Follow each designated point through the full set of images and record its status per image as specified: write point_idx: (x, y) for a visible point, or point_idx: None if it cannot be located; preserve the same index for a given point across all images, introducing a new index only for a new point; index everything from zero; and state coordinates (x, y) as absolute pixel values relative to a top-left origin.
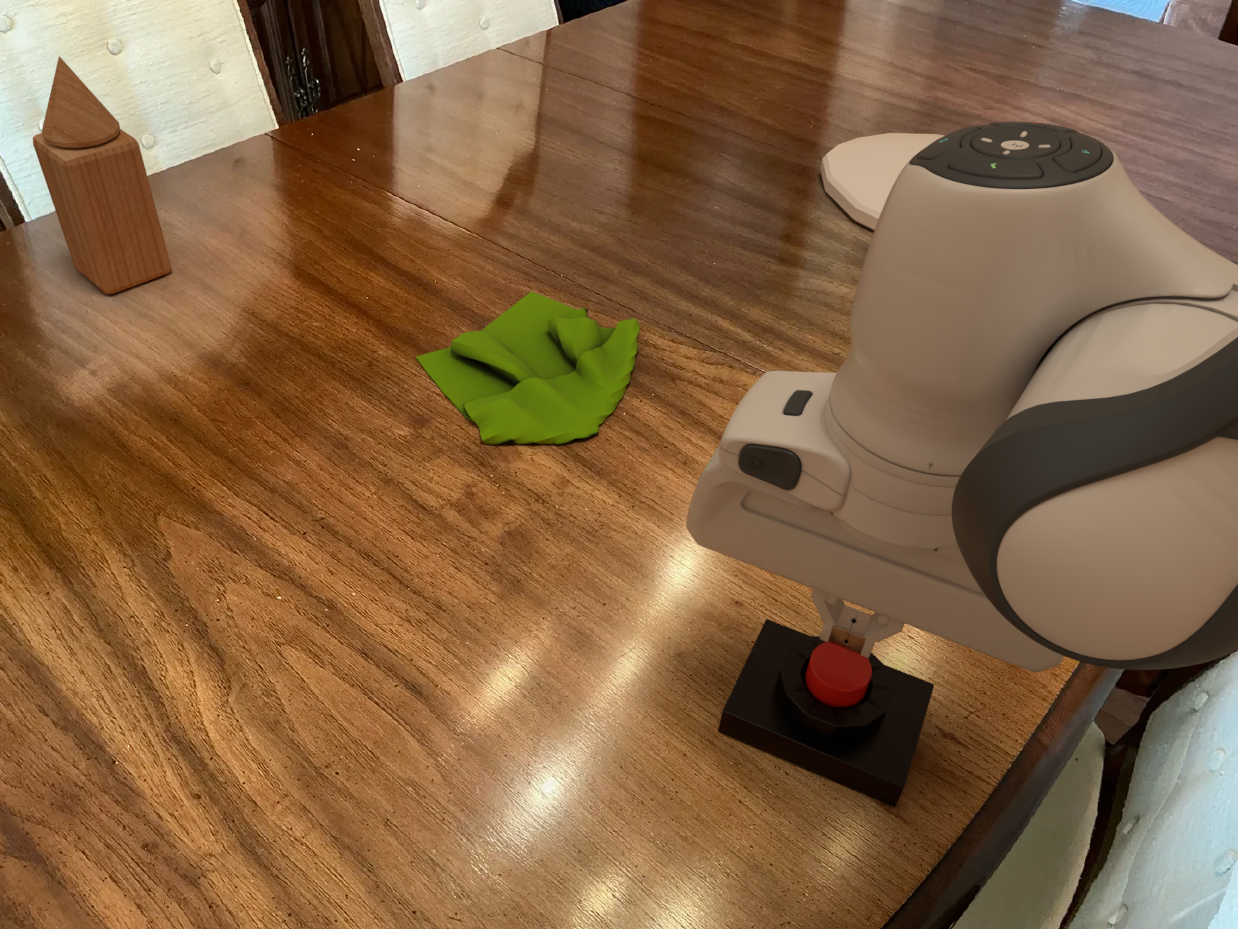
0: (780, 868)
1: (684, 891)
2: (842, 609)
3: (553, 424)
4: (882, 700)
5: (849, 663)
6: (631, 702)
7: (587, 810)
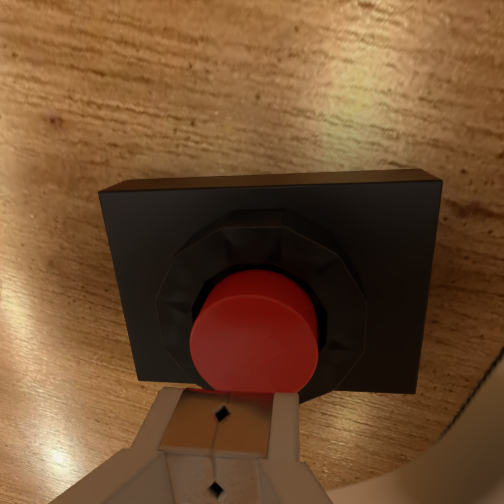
0: None
1: None
2: (168, 466)
3: None
4: (352, 335)
5: (266, 343)
6: (53, 352)
7: None
